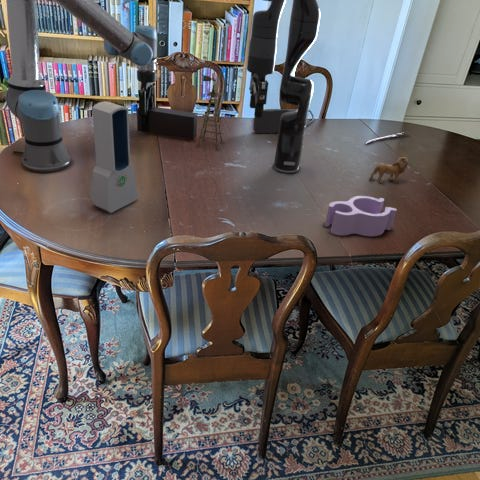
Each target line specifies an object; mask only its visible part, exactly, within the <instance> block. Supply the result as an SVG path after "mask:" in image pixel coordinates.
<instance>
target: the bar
mask: <svg viewBox="0 0 480 480" xmlns="http://www.w3.org/2000/svg"><path fill="white" fill-rule="evenodd" d="M148 121H149V131H148V132H147V131H142V127H141V115H139V106H138V107H137V108H136V124H137V125H136V130H137V131H136V132H139V133H147V134H153V135H159V136H166V137H171V138H178V139H182V140H183V139H184V140H190V141H194V140H195V138H197V132H198V112H192V111H185V110H178V109H172V108H166V107H160V106H155V107H153V106H148Z"/></svg>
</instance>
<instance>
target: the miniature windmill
mask: <svg viewBox="0 0 480 480" xmlns="http://www.w3.org/2000/svg"><path fill="white" fill-rule="evenodd" d="M219 71H220V68H219V67H218V68H217V71H216V73H215V74H214V76H215V77H213V78H212V77H211V76H209V75H205V74H203V75H202V82H213V85H212V88H211V91H209V92H208V93H207V94H206V95H207V96H208V97H209V99H208V105H206V107H207V108H206V111H205V116H204V118H203V123H202V127H201V130H200V135H199V136H198V138H199V139H198V143H197V146H198V147H200V144H201V141H202V140H213V141H215V146H216V147H215V148H216V150H219V140H220V143H224V142H223V141H224V140H223V133H222V128H221V119H220V109H219V104H218V103H219V102H218V101H219V99H218V97H220V96H221V95H222V92H218V90H219V87H220V82H221V79H220V78H221V76H220V72H219ZM212 104H213V105H214V109H213V108H211V105H212ZM210 111H213V112H210ZM210 115H214V119H209V116H210ZM209 122H214V123H215V124H209ZM208 126H210V127H215V131H211V130H210V131H209V130H207V128H208ZM218 130H219V132H218ZM207 133H210V134H215V138H213V137H212V138H211V137H206V134H207ZM218 135H219V137H218Z"/></svg>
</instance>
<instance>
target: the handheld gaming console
mask: <svg viewBox="0 0 480 480" xmlns="http://www.w3.org/2000/svg"><path fill="white" fill-rule="evenodd" d="M296 110H298V108H265V109H264V108H263V114H262V117H261V118H256V117H255V116H254V117H253V118H254V119H253V126H252V127H253V128H252V129H253V131H254V133H256V134H278V133H279V125H280V118H281V115H282V114H283V113H286V112H293V111H296Z"/></svg>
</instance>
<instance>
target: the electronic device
mask: <svg viewBox="0 0 480 480" xmlns="http://www.w3.org/2000/svg"><path fill="white" fill-rule="evenodd" d="M91 111H92V112H91V113H92V114H91V115H92V124H93V125H92V126H93V136H94V137H93V138H94V150H95V161H96V165H95V166H94V168H93V170H92V174H91V175H92V176H91V185H90V198H89V199H90V200H91V202H92V204H93V206H95V207H96V208H99V209H101V210H103V211H106V212H108V213H110V214H112V213H114V212H116V211H118V210H120V209H122V208H124V207H125V206H128V205H130V204H131V203H134V202H135V201H136V200H137V199H138V194H139V193H138V187H137V178H136V169H135V165H133V164H132V163H131V145H130V143H131V142H130V116H129V107H126V106H123V105H119V104H116V103H113V102H110V101H100V102H97V103H95V104H94V105H93V106H92V107H91Z"/></svg>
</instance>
